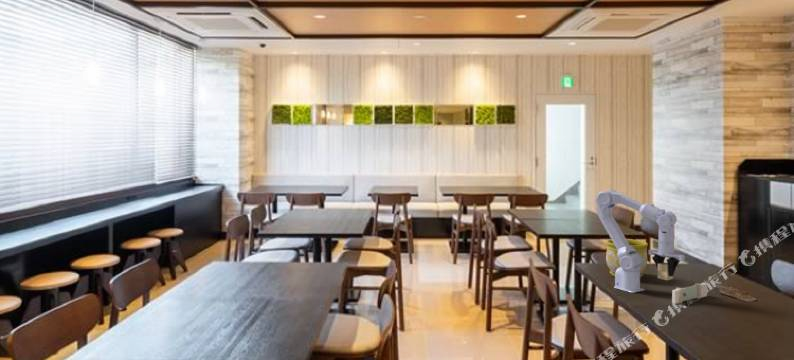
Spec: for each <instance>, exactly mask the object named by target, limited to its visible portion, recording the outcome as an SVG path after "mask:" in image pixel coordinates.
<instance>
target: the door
mask: <svg viewBox="0 0 794 360" xmlns="http://www.w3.org/2000/svg"><path fill="white" fill-rule="evenodd" d="M681 288H682V289H683V293H682V302H685V301H688V300H693V299H698V298H697V286H696V285H690V286H685V287H681Z"/></svg>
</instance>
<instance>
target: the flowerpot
mask: <svg viewBox="0 0 794 360" xmlns="http://www.w3.org/2000/svg"><path fill="white" fill-rule="evenodd" d="M626 240H627V241H628V243H629V245H630V246H631V247H633V248H634V249H635V251H636V252H637V253H638V254H640V255H641V257H642V264H641V265H640V266H639V267H640V279H641V278H642V277H643V275H644V274H643V273H644V272H645V270H646V268H647V266H648V253H647V252H648V249H647V247H648V245H649V244H648V242H646V241H644V240H639V239H632V238H631V239H629V238H626ZM605 243H606V254H605V255H606V256H605V262H606V265H607V267H608V269H609V273H610V275H611V276H612V277H613V276H614V278H615V273H616V270H617V269H618V268H619V267H621V266H620V262H619V258H618V256H617V255H618V250H617V248H616V246H615V245H614V243H613V241H612V239H611V238H610V239H606V241H605Z"/></svg>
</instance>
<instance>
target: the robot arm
mask: <svg viewBox="0 0 794 360" xmlns="http://www.w3.org/2000/svg"><path fill="white" fill-rule="evenodd" d="M594 201H595V203H596V214H597V216H598V219H599V220H600V222H601V224H602V225H603V227H604V229H605V231H606V233H607V234H608V235H609V238H610V239H612V241H613V243H614V245H615V246H616V248H617V250H618V255H617V256H618V258H619V262H620V266H621V267H619V268H618V269H617V270H616V273H615V277H614V286H613V288H614V289H618V290H621V291H624V292H628V293H631V294H635V293H637V292H643V291H645V288H641V278H640V267H639V266H640V265H641V264H642V257H641V255H640V254H638V253H637V252H636V251H635V249H634V248H633V247H631V246H630V245H629V243H628V241H627V240H626V239H627V238H626V236H625V234H624V233H623V231H622V229H621V228H620V226H619V224H618V223H617V221H616V219H615V217H614V215H613V213H612V212H613V209H614V207H615V205H618V204H620V205H621V204H622V205H623V206H625V207H626V206H627V207H629V208H630V209H633V210H636V211H638V212H639V214H640V215H641V216H642V217H644V218H646V219H648V220H650V221H652V222H654V223H657V225H658V245H657V246H658V248H657V249H652V248H651V249H648V253H647V255H651V256H652V255H653V256H652V257H651V259H652V260H653V262H654V264H655V266H656V270H657V272H658V264H659V263H663V262H665V259H666V263H667V264H668V275H669V276H673V277H674V275H675V271H676V268H677V267H678V265H679V263H680V262H682V261H683V262H684V261H685V255H684V254H680V253H676V252H675V224H676V223H677V221H678V219H677V216H676V214H675V213H673V212H672V211H666V209H664V208H663V209H661V208H659V207H657V206H655V204H654V203H644V204H643V203H641V202H640V201H637V200H636V199H633V198H631V197H630V196H628V195H626V194H624V193H622V192H619V191H617V190H614V189H610V190H603V191H599V193H597V195H596V198H595V200H594Z"/></svg>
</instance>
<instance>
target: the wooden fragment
mask: <svg viewBox="0 0 794 360" xmlns="http://www.w3.org/2000/svg"><path fill="white" fill-rule="evenodd" d="M714 286H715V287H716V288H717V291H718V292H719V293H720V295H724V296H727V297H732V298H735V299H738V300H741V301H745V303H750V302H751V303H752V302H755V301H758V298H756V297H754V296H751V295H750V294H747V292H746V291H744V290H742V289H739V288H736V287H732V286H727V285H721V284H714Z"/></svg>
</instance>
